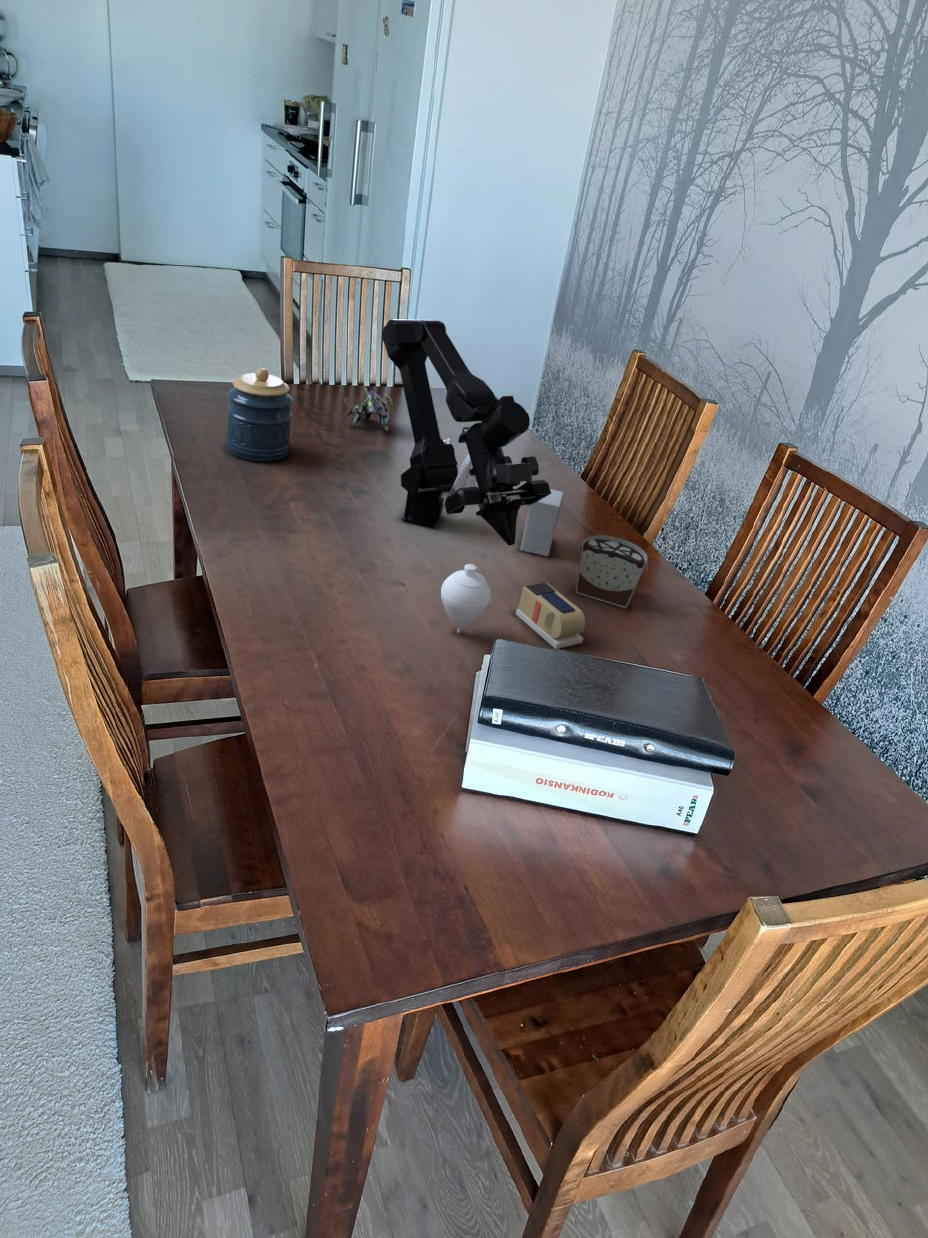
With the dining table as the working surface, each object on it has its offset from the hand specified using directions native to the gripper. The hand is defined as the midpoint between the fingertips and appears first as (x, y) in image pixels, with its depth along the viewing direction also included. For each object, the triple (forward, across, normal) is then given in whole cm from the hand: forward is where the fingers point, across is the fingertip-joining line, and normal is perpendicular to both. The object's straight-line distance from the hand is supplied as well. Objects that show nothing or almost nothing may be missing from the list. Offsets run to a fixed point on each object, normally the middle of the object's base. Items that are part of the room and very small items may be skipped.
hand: (511, 544), depth 152 cm
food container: (+11, +18, +1) cm, 21 cm away
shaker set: (-21, +13, +34) cm, 42 cm away
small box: (-2, +17, +15) cm, 22 cm away
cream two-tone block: (+10, 0, -1) cm, 10 cm away
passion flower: (-46, +13, +59) cm, 76 cm away
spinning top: (+13, -16, -1) cm, 20 cm away
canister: (-39, -18, +53) cm, 68 cm away
